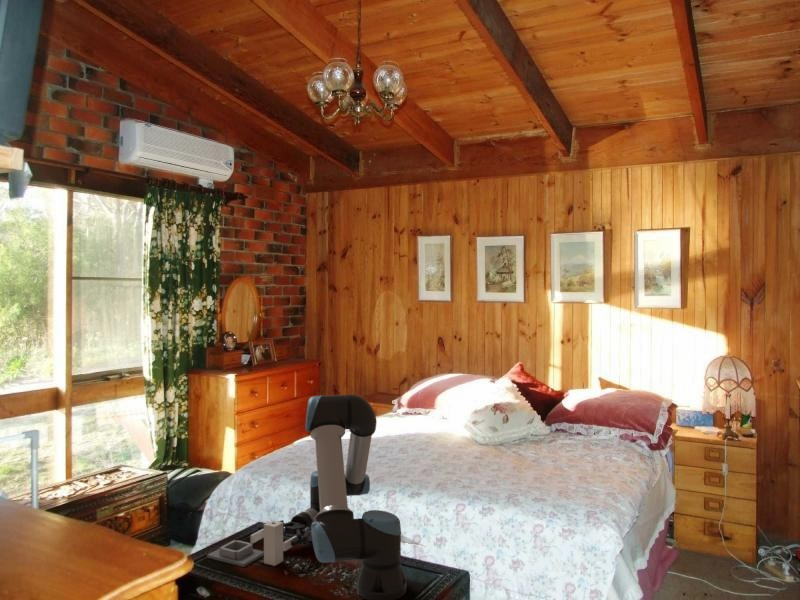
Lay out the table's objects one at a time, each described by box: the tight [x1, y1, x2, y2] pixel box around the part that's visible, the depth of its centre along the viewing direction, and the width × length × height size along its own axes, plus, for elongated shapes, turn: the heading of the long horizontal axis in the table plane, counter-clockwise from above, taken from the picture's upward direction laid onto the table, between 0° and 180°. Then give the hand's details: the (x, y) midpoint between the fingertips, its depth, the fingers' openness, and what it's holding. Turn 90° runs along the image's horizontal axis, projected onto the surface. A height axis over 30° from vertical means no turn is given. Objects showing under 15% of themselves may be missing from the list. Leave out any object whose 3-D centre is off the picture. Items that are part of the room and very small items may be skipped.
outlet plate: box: [206, 539, 264, 568], centre depth 218 cm, size 16×11×4 cm
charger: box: [263, 519, 284, 567], centre depth 214 cm, size 4×4×13 cm
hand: (267, 543), depth 211 cm, fingers open, 13 cm apart
